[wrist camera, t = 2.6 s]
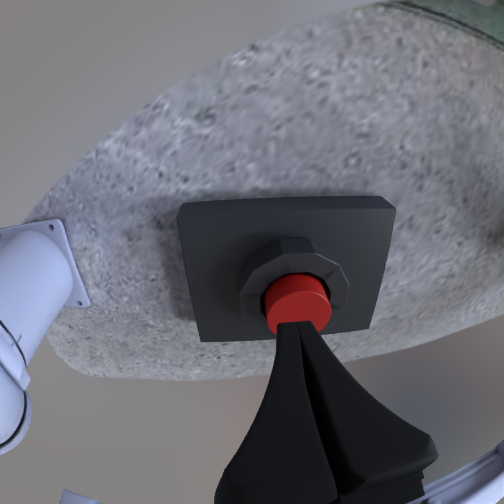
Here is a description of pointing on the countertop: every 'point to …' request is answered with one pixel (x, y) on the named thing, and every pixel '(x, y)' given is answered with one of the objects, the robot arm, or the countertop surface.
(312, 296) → the power button
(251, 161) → the countertop surface
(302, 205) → the control box
